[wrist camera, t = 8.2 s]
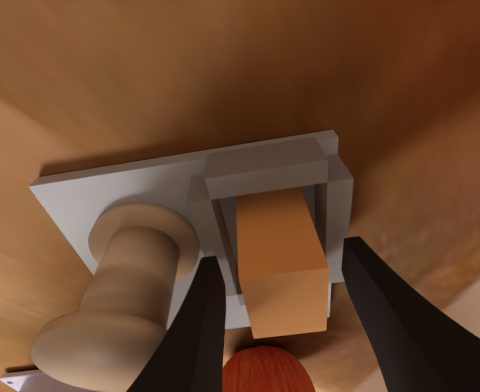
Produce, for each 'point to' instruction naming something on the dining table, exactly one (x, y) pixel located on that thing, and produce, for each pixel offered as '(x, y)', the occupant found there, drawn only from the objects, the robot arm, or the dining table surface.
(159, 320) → the knob
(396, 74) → the dining table surface
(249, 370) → the apple
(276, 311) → the block
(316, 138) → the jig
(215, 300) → the robot arm
